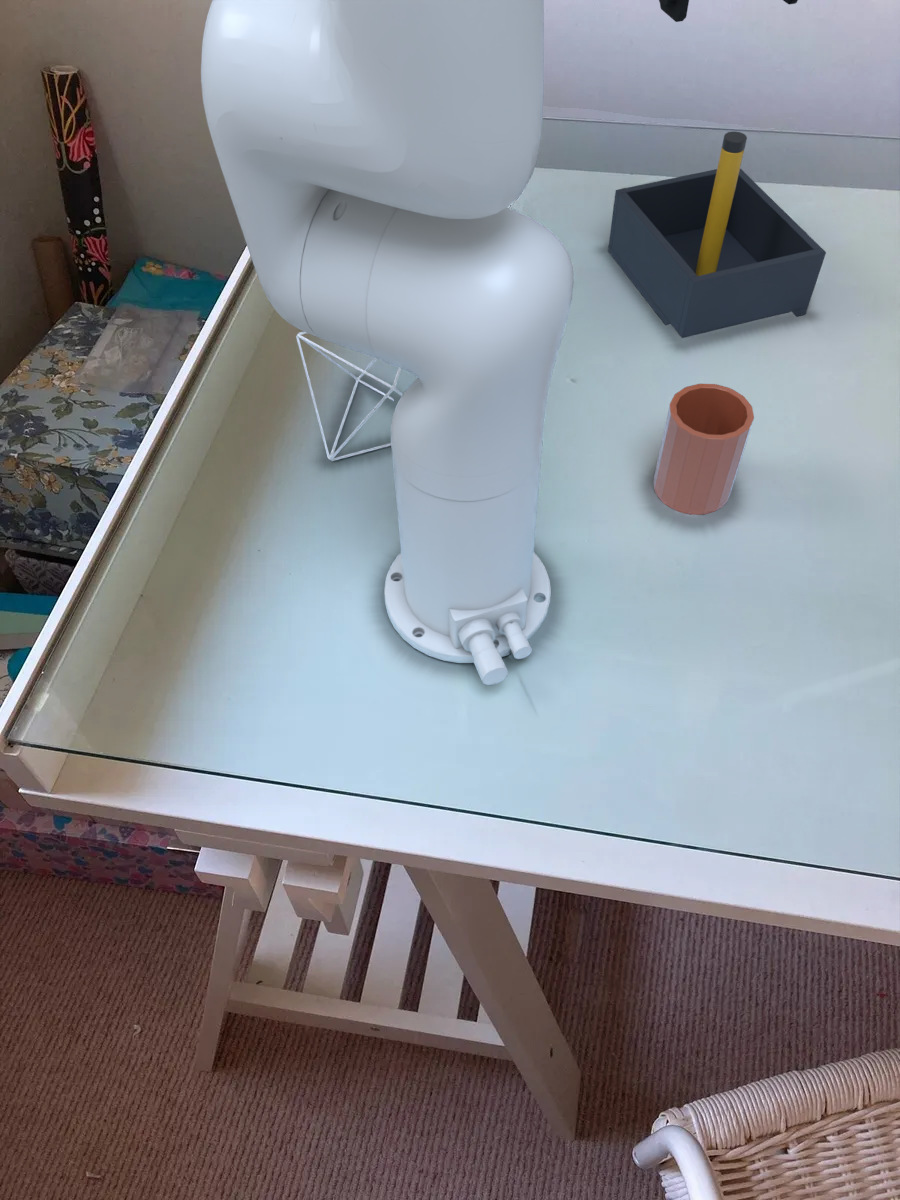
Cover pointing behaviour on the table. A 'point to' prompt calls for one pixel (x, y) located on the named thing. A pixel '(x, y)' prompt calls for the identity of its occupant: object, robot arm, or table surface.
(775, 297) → the bin
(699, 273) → the pencil
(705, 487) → the pencil cup
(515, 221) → the robot arm
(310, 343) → the geometric polyhedron
